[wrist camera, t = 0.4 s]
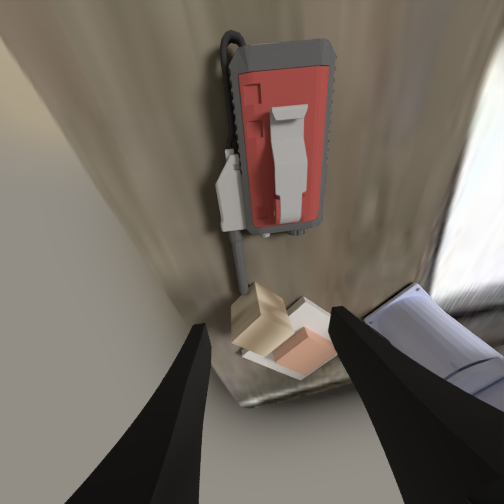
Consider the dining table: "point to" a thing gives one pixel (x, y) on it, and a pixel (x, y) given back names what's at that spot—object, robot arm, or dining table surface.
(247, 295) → the birch block
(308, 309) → the base plate
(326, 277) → the dining table surface
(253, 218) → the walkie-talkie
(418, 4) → the dining table surface
